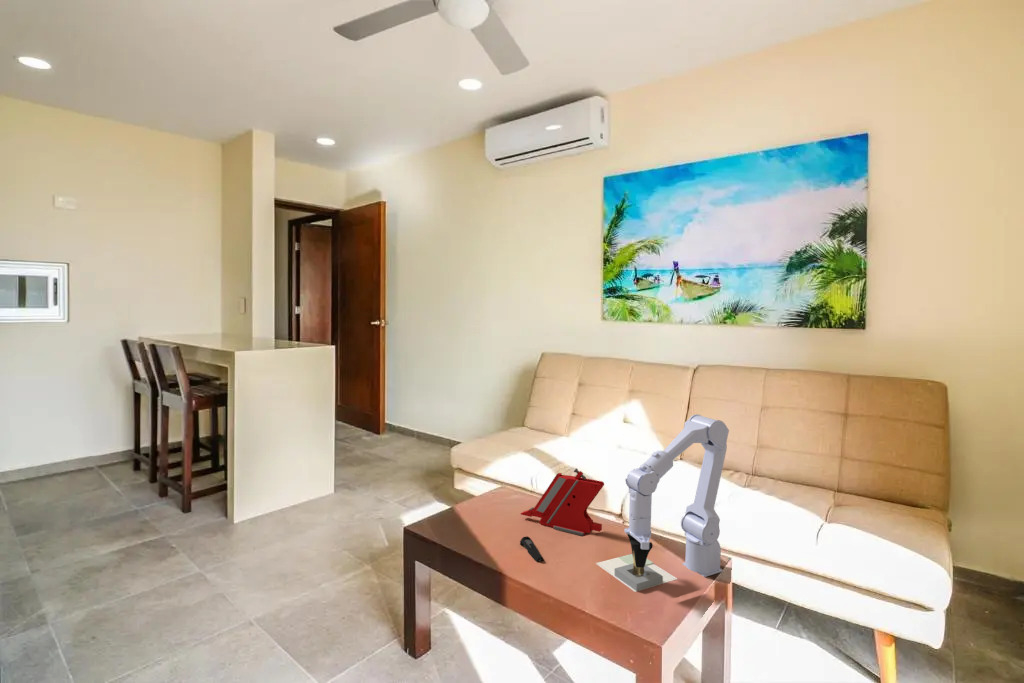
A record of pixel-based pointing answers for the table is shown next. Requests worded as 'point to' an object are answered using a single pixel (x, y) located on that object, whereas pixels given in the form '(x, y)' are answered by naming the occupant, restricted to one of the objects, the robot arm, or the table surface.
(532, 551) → the electric trimmer
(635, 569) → the brass cylinder
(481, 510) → the table surface
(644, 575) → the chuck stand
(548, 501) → the tool
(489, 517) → the table surface
